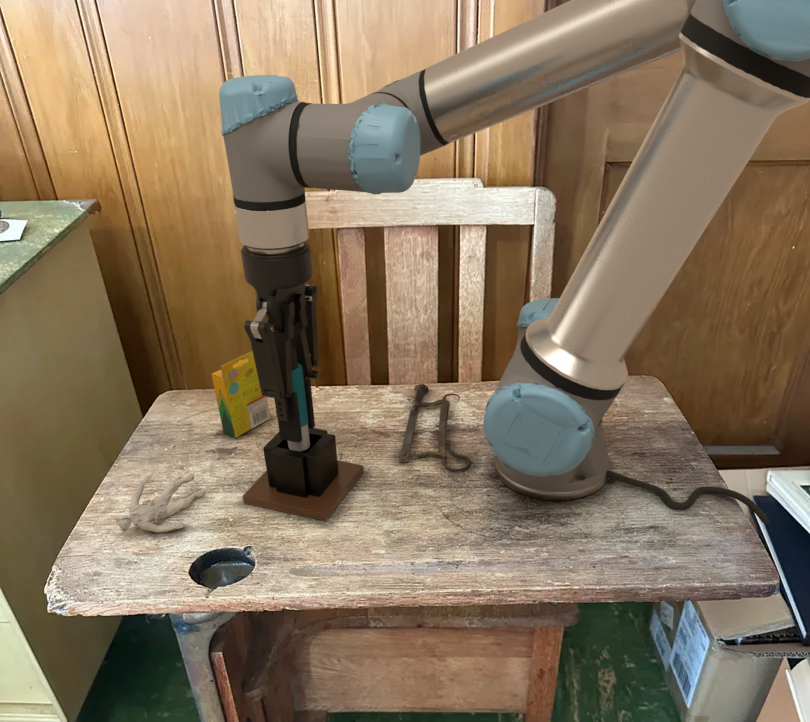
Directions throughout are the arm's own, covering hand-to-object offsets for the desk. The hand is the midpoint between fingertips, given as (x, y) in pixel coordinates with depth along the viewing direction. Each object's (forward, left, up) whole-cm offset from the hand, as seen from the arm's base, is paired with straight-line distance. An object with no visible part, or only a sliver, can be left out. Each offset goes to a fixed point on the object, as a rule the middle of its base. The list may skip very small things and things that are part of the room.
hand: (297, 432), depth 97 cm
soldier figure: (+14, +12, -9) cm, 20 cm away
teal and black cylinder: (0, 0, -2) cm, 2 cm away
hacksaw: (-12, -21, -9) cm, 26 cm away
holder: (0, 0, -9) cm, 9 cm away
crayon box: (+16, -12, -9) cm, 22 cm away
